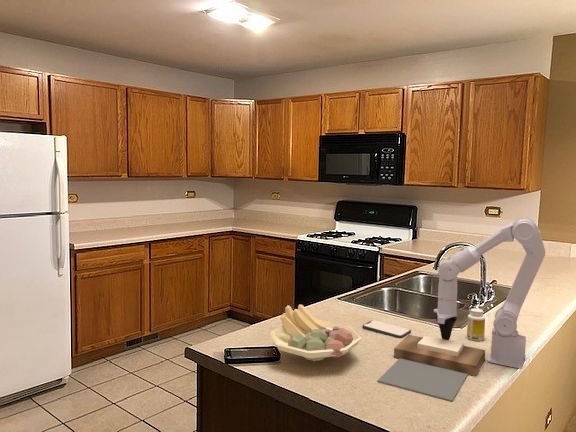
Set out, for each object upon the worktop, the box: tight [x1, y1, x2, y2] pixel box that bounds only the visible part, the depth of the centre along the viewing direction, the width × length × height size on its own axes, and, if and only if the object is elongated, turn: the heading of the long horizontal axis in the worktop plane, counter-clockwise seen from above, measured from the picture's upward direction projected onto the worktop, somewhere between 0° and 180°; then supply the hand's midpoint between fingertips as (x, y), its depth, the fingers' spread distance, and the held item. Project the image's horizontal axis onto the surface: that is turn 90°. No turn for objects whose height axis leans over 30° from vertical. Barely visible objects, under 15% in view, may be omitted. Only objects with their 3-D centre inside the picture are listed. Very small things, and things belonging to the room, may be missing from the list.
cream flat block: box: [417, 335, 465, 357], centre depth 144 cm, size 12×8×2 cm, turn 57°
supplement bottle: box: [466, 307, 486, 342], centre depth 160 cm, size 6×6×10 cm
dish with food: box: [269, 304, 362, 362], centre depth 144 cm, size 28×28×14 cm
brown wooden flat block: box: [393, 334, 486, 377], centre depth 144 cm, size 24×14×3 cm, turn 57°
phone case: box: [362, 319, 412, 339], centre depth 169 cm, size 9×2×16 cm
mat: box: [377, 358, 469, 402], centre depth 130 cm, size 20×18×1 cm
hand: (445, 339), depth 150 cm, fingers closed
